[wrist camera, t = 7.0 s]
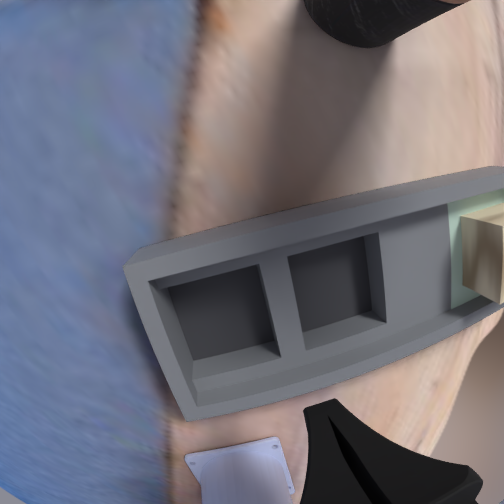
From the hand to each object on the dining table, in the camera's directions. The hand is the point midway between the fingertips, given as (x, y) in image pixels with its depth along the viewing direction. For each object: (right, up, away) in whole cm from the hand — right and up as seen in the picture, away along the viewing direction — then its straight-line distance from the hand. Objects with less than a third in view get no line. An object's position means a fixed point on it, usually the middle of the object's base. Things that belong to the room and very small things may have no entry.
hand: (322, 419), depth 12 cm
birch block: (+14, +7, +7) cm, 17 cm away
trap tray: (+5, +6, +9) cm, 12 cm away
